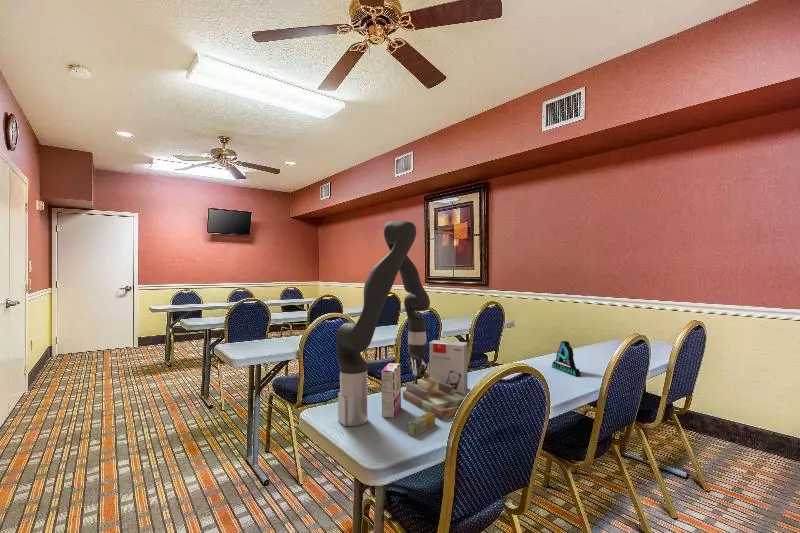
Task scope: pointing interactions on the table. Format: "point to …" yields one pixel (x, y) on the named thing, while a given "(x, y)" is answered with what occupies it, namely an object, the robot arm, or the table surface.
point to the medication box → (421, 424)
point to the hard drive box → (449, 363)
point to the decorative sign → (567, 355)
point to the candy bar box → (391, 390)
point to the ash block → (429, 385)
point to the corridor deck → (434, 400)
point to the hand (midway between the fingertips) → (417, 384)
